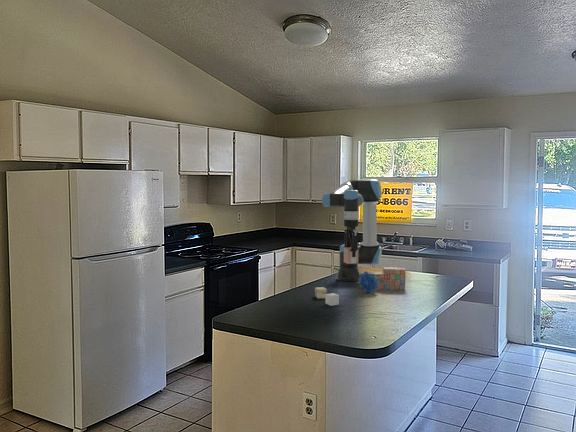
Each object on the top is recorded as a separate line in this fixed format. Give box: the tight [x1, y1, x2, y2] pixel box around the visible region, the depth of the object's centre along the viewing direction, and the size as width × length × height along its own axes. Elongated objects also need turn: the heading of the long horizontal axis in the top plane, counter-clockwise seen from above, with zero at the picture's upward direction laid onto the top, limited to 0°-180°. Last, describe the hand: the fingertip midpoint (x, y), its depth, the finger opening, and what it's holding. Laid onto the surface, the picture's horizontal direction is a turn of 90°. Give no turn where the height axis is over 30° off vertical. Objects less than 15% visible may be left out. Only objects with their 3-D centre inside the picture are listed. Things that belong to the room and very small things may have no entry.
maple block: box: [314, 286, 328, 300], centre depth 275 cm, size 5×5×5 cm
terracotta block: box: [344, 247, 358, 264], centre depth 269 cm, size 6×6×8 cm
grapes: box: [358, 271, 378, 293], centre depth 285 cm, size 12×7×12 cm, turn 62°
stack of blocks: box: [367, 266, 407, 291], centre depth 298 cm, size 21×6×12 cm, turn 86°
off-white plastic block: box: [325, 292, 340, 306], centre depth 259 cm, size 5×5×5 cm
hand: (350, 262), depth 269 cm, fingers closed on terracotta block, 6 cm apart
